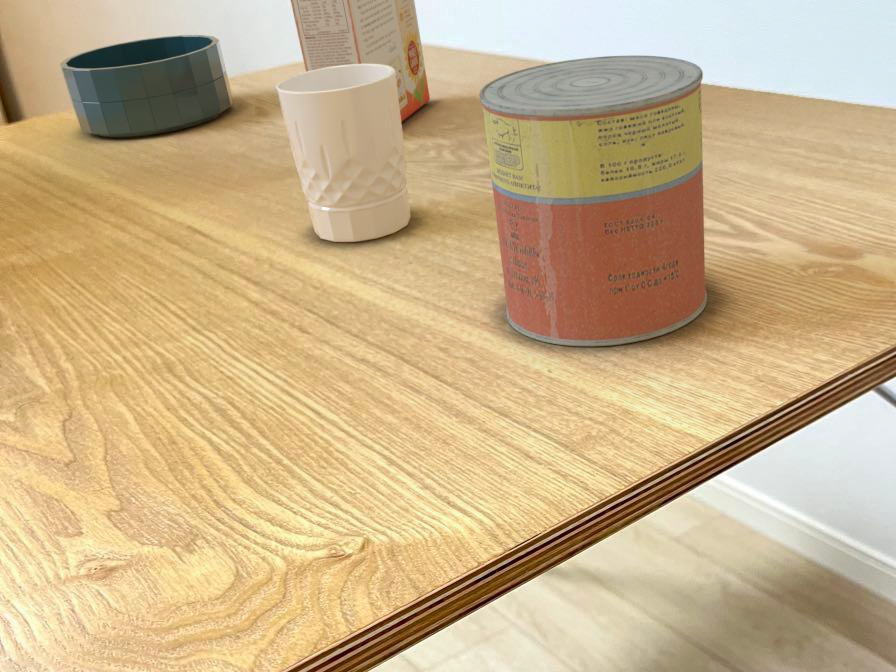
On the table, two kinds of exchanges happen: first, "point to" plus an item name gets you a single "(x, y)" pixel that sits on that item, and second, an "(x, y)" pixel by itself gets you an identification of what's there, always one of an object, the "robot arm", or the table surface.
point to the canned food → (599, 197)
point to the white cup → (348, 149)
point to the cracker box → (365, 41)
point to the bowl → (148, 85)
